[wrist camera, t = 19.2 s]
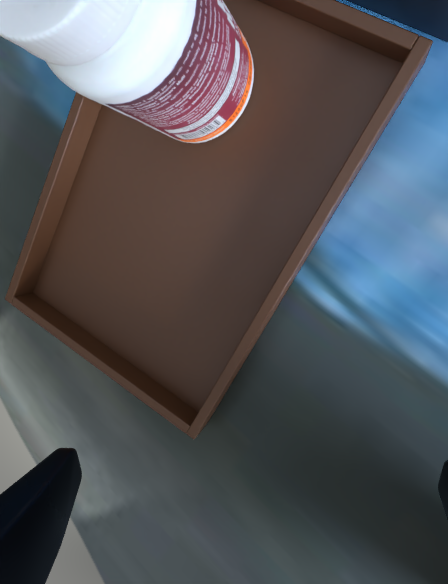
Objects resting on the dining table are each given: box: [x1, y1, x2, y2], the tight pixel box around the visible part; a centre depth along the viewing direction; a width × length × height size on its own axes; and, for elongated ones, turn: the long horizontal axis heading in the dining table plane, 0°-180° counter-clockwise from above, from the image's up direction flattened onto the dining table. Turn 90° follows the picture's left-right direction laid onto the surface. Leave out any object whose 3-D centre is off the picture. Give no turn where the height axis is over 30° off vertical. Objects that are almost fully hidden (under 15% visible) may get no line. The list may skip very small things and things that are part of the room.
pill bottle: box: [0, 0, 254, 143], centre depth 15 cm, size 6×6×11 cm
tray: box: [5, 0, 433, 439], centre depth 21 cm, size 15×22×2 cm
